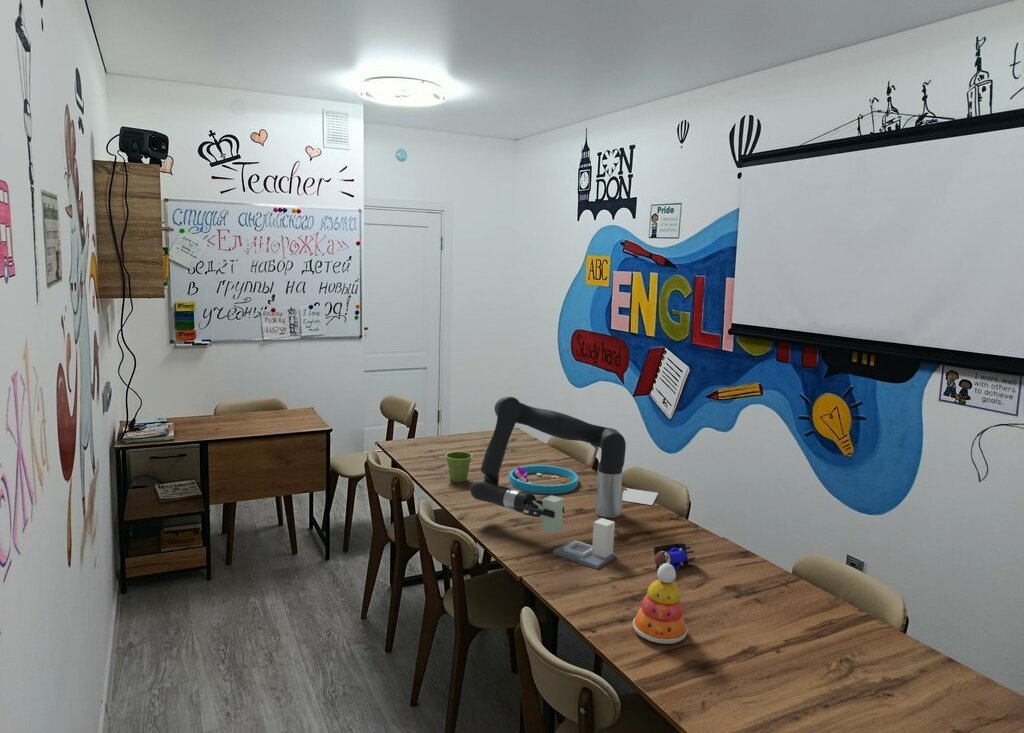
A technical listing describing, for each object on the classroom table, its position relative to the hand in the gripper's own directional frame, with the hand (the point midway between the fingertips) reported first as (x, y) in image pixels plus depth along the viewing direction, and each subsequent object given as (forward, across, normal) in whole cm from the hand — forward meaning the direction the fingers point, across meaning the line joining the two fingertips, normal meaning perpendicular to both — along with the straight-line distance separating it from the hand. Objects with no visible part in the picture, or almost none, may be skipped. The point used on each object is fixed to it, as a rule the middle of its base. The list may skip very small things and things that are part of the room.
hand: (558, 512), depth 239 cm
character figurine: (+37, +12, +13) cm, 41 cm away
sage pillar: (-3, 0, +7) cm, 7 cm away
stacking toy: (+52, -29, +12) cm, 61 cm away
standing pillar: (+16, +3, +11) cm, 20 cm away
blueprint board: (+11, 0, +12) cm, 16 cm away
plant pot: (-72, +29, +12) cm, 79 cm away
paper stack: (-10, +68, +13) cm, 70 cm away
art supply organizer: (-44, +53, +13) cm, 70 cm away
